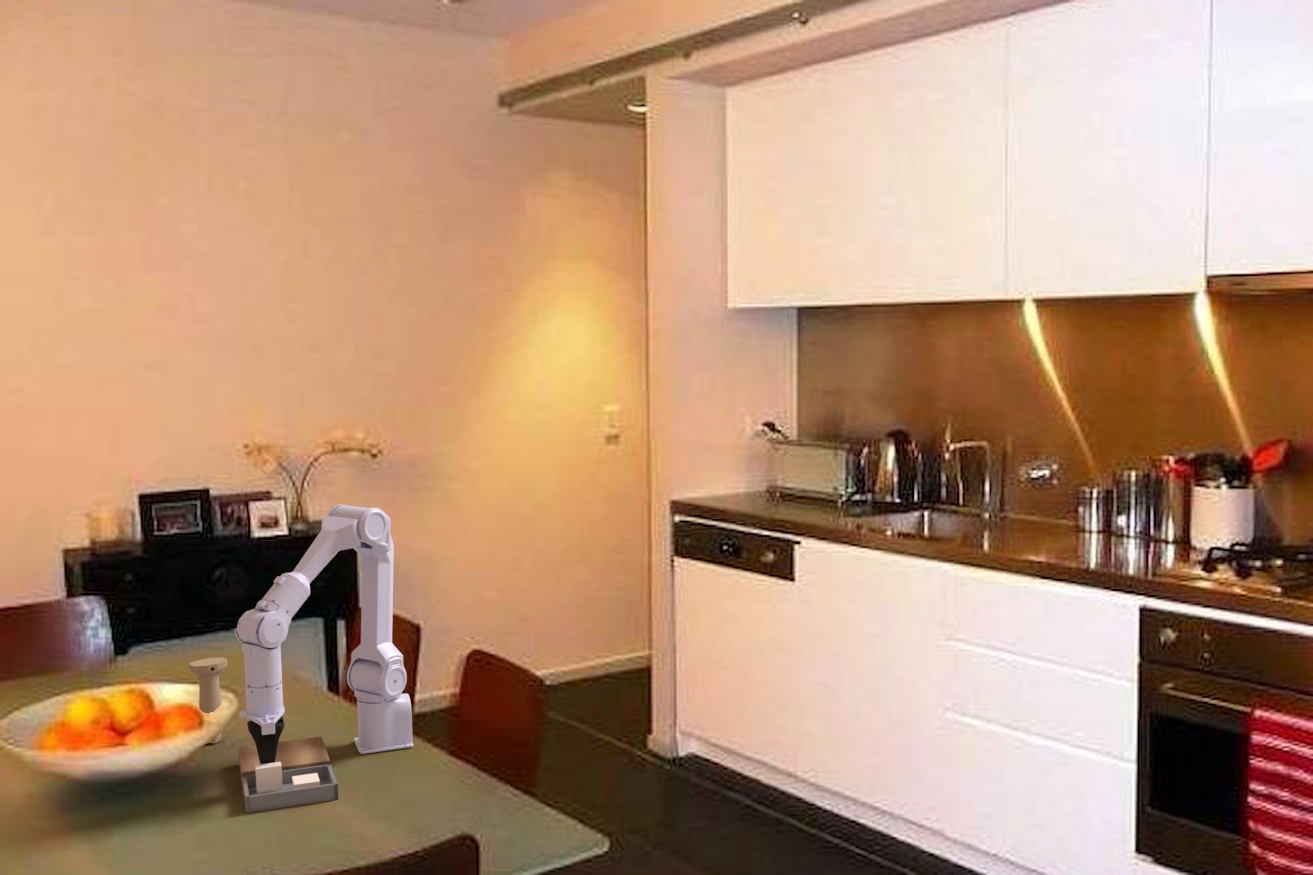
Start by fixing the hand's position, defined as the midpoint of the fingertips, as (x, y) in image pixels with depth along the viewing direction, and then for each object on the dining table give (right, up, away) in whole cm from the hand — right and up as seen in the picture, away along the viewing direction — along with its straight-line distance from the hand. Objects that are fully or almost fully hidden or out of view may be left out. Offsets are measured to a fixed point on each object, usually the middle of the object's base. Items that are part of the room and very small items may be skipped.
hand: (267, 764), depth 201 cm
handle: (-17, -2, +23) cm, 29 cm away
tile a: (+7, -2, -3) cm, 8 cm away
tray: (+5, -4, -3) cm, 7 cm away
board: (0, -3, +8) cm, 9 cm away
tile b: (0, -2, -1) cm, 2 cm away
